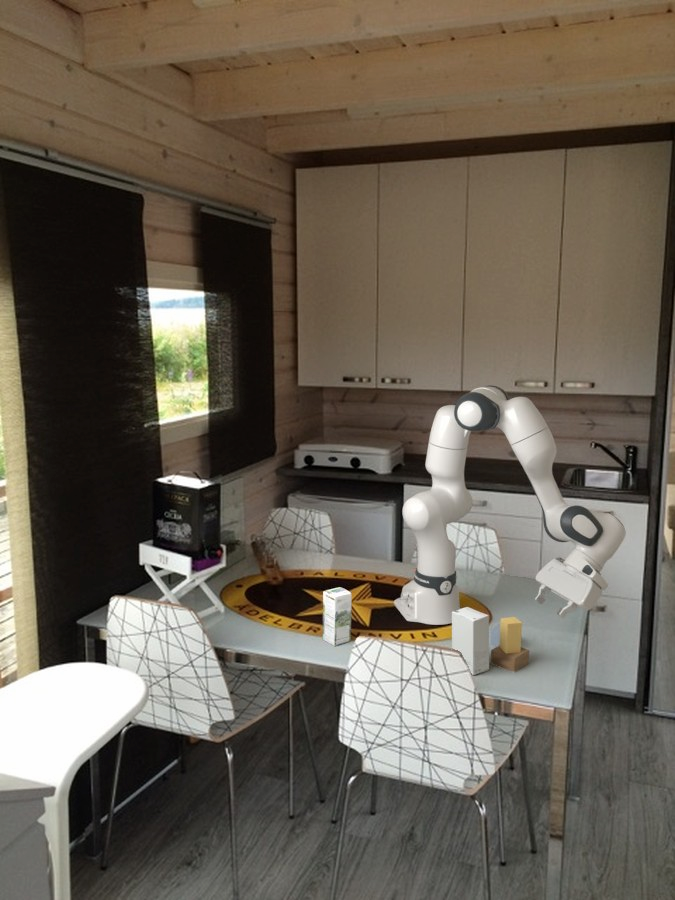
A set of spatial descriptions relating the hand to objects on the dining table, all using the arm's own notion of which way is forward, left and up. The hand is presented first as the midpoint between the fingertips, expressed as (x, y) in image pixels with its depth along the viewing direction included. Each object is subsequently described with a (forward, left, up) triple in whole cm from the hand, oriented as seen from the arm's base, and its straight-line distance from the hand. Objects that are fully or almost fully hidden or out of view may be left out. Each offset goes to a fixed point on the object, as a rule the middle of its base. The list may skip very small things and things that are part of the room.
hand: (548, 608), depth 212 cm
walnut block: (+1, -12, -13) cm, 18 cm away
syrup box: (-29, -48, -13) cm, 58 cm away
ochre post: (0, -12, -9) cm, 15 cm away
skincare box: (-1, -23, -13) cm, 27 cm away
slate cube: (-9, -7, -13) cm, 18 cm away
